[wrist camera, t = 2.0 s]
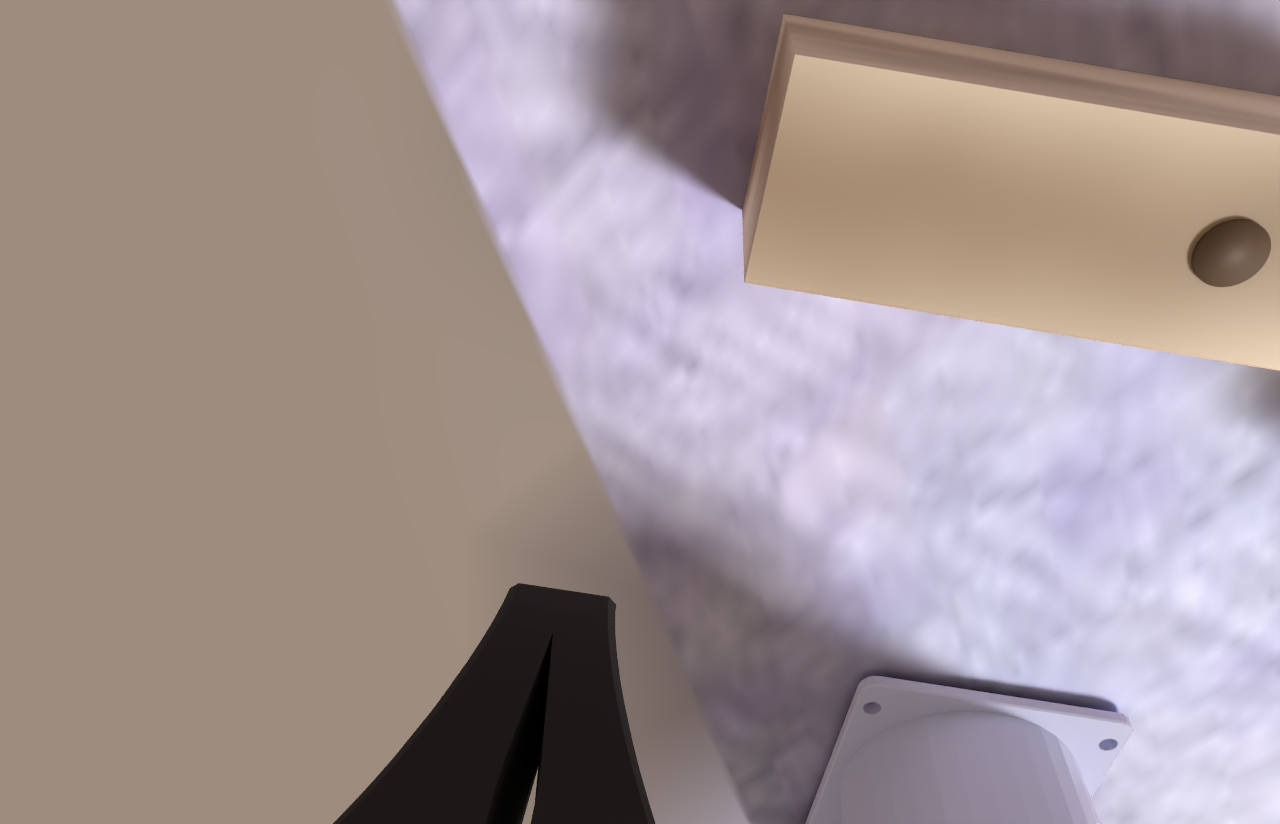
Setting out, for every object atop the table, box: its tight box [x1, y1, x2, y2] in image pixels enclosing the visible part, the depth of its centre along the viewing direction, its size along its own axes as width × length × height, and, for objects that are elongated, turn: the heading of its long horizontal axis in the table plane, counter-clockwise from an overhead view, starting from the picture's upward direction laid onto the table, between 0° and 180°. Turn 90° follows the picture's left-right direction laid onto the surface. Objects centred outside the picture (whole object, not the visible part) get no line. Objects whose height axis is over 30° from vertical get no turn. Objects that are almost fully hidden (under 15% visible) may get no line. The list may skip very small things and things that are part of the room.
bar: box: [742, 14, 1280, 371], centre depth 17 cm, size 4×12×4 cm, turn 82°
